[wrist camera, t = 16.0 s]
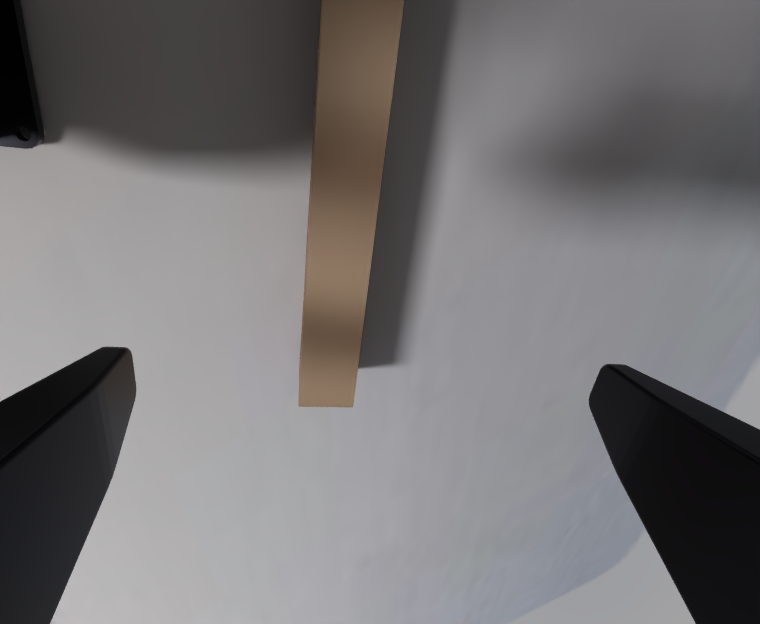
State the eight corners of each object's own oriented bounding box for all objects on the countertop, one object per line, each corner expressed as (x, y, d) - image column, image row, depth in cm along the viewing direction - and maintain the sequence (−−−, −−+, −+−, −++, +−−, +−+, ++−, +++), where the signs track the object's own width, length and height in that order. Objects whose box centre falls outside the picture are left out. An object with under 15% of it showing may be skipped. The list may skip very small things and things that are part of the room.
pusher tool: (393, 369, 25) (406, 423, 21) (251, 365, 24) (241, 421, 20) (488, -199, 15) (542, -270, 12) (253, -256, 14) (235, -354, 10)
